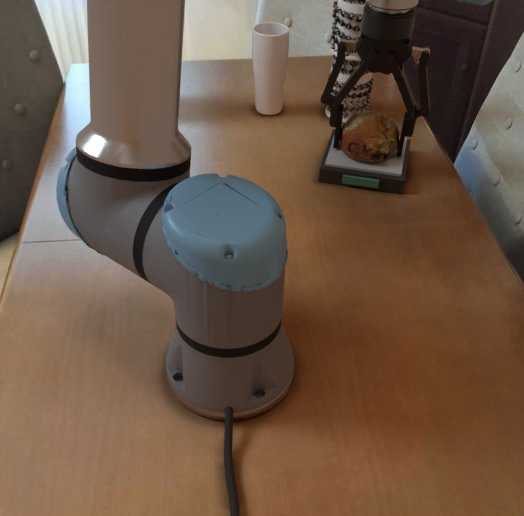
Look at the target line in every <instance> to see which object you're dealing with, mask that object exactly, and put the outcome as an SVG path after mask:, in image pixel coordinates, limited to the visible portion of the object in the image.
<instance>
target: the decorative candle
mask: <svg viewBox="0 0 524 516" xmlns="http://www.w3.org/2000/svg"><path fill="white" fill-rule="evenodd" d="M366 4H367V2H366V0H336V1H333V4H332V6H333V10H332V15H331V17H332V18H333V20H334V21H333V22H332V26H331V30H332V31H331V35H330V38H331V39H332V43H331V47H330V51H331V53H332V62H331V66H330V73H329V74H328V77H327V80H328V79H329V77H330V74H331V72H332V69H333V67H334V64H335V62H336V59H337V48H338V44H339V41H340V39H341V38H342V37H346V38H347V40H357V39H358V38H359V37H360V33H361V26H362V18H363V11H364V6H365V5H366ZM360 61H361V59H360V57H359V55H358V53H357V51H356V49H354V50H352V52H351V54H350V55H349V56H346V58H345V60H344V63H343V66H342V68H341V70H340V73H339V75H338V78H337V80H336V83H335V85H334V87H333V90H332V92H331V94H332V95H334V96H335V95H336V94H337V92H338V91H339V90H340V88H341V87H342V86H343V84H344V83H345V82H346V80H347V79H348V78H349V76H350V75H351V74H352V72H353V71H354V70H355V68H356V67H357V65H358V64H359V62H360ZM373 84H374V78H373V73H370V71H368V70H367V71H366V72H365V74H364V75H363V76H362V77H361V78H360V79H359V81H358V82H357V83H356V85H355V86H354V87H353V89H352V90H351V91H350V92H349V94H348V95H347V96H346V98H345V99H344V100H343V102H342V103H341V104H344V111H343V119H342V124H343V123H344V124H345V123H346V122H347V120H348V119H349V118H350V117H352V116H353V115H355V114H356V113H357V112H362V111H370V108H369V107H370V106H371V105H370V103H371V99H372V97H371V95H370V94H372V91H373V87H372V86H373ZM324 105H325V110H324V113H325V115H326V117H327V118H329V119H330V112H331V108H330V106H329V105H327V104H324Z"/></svg>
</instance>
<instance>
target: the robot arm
mask: <svg viewBox="0 0 524 516" xmlns="http://www.w3.org/2000/svg"><path fill="white" fill-rule="evenodd" d="M455 1H456V2H457V3H468V4H473V5H478V6H484V5H487V4H489V3H491V2H492V1H493V0H455ZM366 2H367V4H366V5H365V6H364V11H363V18H362V26H361V33H360V37H359V38H358V39H357V40H347V38H346V37H342V38H341V39H340V41H339V44H338V48H337V59H336V62H335V64H334V67H333V69H332V72H331V71H330V72H331V74H330V73H329V74H330V77H329V76H328V77H329V79H328V78H327V82H326V84H325V87H324V89H323V91H322V95H321V97H320V100H319V101H320V103H321V104H322V105H325V104H327V105H329V106H330V108H331V112H330V118H329V122H328V125H329V127H330V128H334V129H335V135H334V144H333V148H338V145H339V142H340V133H341V128H342V126H343V123H342V119H343V111H344V104H341V103H342V102H343V100H344V99H345V98H346V96H347V95H348V94H349V92H350V91H351V90H352V89H353V87H354V86H355V85H356V83H357V82H358V81H359V79H360V78H361V77H362V76H363V75H364V74H365V72H366V71H367V70H368V71H370V73H372V74H378V73H381V74H383V75H387V76H390V75H391V74H392V77H393V79H394V81H395V82H396V85H397V88H398V90H399V93H400V96H401V98H402V101H403V104H404V107H405V109H406V111H405V112H404V116H403V121H402V125H401V131H400V134H399V136H400V140H399V145H398V150H397V156H396V157H401V154H402V149H403V144H404V140H405V137H407V138H412V136H413V135H414V131H415V127H416V121H417V119H418V118H421V117H423V118H427V117H428V116H429V115H430V110H431V101H430V100H431V99H430V84H429V72H428V71H429V70H428V63H429V59H430V54H431V47H430V46H429V45H424V46H423V47H419V46H413V45H414V44H413V42H412V36H413V31H414V28H415V22H416V15H417V8H416V6H418V4H419V0H366ZM185 9H186V0H86V14H87V15H86V19H87V20H86V21H87V48H88V49H87V50H88V51H87V54H88V80H89V83H88V84H89V85H88V86H89V112H90V115H89V116H90V121H89V123H88V124H87V125H86V126H84V127H83V128H82V129H81V130H80V131H78V133H77V134H76V135H75V136H76V137H75V146H74V147H73V149H71V150H70V152H69V153H68V154H67V156H66V158H65V161H66V164H65V166H62V167H61V168H59V171H58V174H57V179H56V186H55V187H56V189H55V194H56V203H57V207H58V211H59V213H60V216H61V218H62V220H63V223H64V224H65V226H66V227H67V228H68V229H69V231H70V232H71V233H72V234H73V235H75V236H76V237H77V238H78V239H80V240H81V242H83V243H84V244H85V245H86V246H87V247H88V248H89V249H91V250H93V251H96V253H98V254H99V255H102V256H104V257H106V258H108V259H110V260H112V261H113V262H115V263H116V264H118V265H119V266H122V267H123V268H124V269H126V270H128V271H130V272H131V273H133V274H134V275H136V276H137V277H139V278H141V279H142V280H144V281H146V282H147V283H149V284H151V285H152V286H153V287H155V288H157V289H158V290H160V291H161V292H163V293H165V294H166V295H168V296H169V298H171V301H172V304H173V311H174V318H175V319H174V320H175V327H174V330H173V332H172V335H171V339H170V342H169V346H168V348H167V351H166V356H165V375H166V381H167V384H168V387H169V389H170V391H171V394H172V395H173V396H174V398H175V399H176V400H177V401H178V402H179V403H180V404H181V405H182V406H183V407H185V408H186V409H188V410H189V411H191V412H192V413H195V414H197V415H199V416H202V417H204V418H208V419H212V420H219V421H224V432H223V433H224V437H223V458H224V459H223V462H224V463H223V464H224V475H225V481H226V488H227V494H228V499H229V500H228V501H229V508H230V509H229V511H230V512H229V513H230V516H240V513H241V512H240V503H239V496H238V490H237V485H236V484H237V483H236V479H235V477H236V476H235V470H234V462H233V461H234V460H233V438H234V437H233V435H234V434H233V433H234V432H233V430H234V421H240V420H247V419H250V418H251V419H252V418H253V417H257V416H259V415H262V414H264V413H266V412H268V411H269V410H271V409H272V408H275V406H277V405H278V404H279V403H280V402H281V401H282V400H283V399H284V398H285V397H286V395H287V394H288V392H289V391H290V389H291V387H292V383H293V382H294V381H293V380H294V376H295V375H294V374H295V357H294V350H293V347H292V345H291V342H290V340H289V337H288V334H287V331H286V329H285V327H284V324H283V322H282V321H283V307H284V291H285V280H286V279H285V277H286V266H287V263H288V257H289V256H288V255H289V249H288V240H287V224H286V219H285V215H284V212H283V210H282V208H281V206H280V204H279V203H278V201H277V200H276V199H275V197H273V195H271V193H270V192H268V191H267V190H266V189H264V187H262V186H261V185H259V184H257V183H255V182H253V181H251V180H249V179H247V178H245V177H241V176H238V175H233V174H227V175H226V176H224V177H222V176H221V175H220V174H219V173H211V172H210V173H202V174H197V175H194V176H191V162H192V146H191V145H192V144H191V143H190V141H189V140H188V139H187V138H186V137H185V136H184V135H183V134H182V132H181V131H180V130H179V119H180V118H179V117H180V100H181V81H182V67H183V65H182V63H183V49H184V48H183V47H184V29H185V13H186V12H185V11H186V10H185ZM354 49H356V51H357V53H358V55H359V57H360V59H361V61H360V62H359V64H358V65H357V67H356V68H355V70H354V71H353V72H352V74H351V75H350V76H349V78H348V79H347V80H346V82H345V83H344V84H343V86H342V87H341V88H340V90H339V91H338V92H337V94H336V95H335V96H334V95H332V94H331V92H332V90H333V87H334V85H335V83H336V80H337V78H338V75H339V73H340V70H341V68H342V66H343V63H344V60H345V58H346V56H349V55H350V54H351V52H352V50H354ZM411 57H413V62H414V64H415V65H418V66H417V76H418V78H417V79H418V87H419V88H418V89H419V90H418V91H419V101H420V102H419V103H420V105H417V102H416V99H415V97H414V94H413V90H412V88H411V85H410V83H409V80H408V77H407V74H406V71H405V66H404V64H405V62H406V61H407V60H408V59H409V58H411Z"/></svg>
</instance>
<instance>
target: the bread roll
mask: <svg viewBox="0 0 524 516" xmlns="http://www.w3.org/2000/svg"><path fill="white" fill-rule="evenodd" d="M399 136H400V129H399V127H398V125H397V122H396V121H395V120H394V119H393V118H392V117H391V116H389V115H387V114H385V113H383V112H381V111H378V110H368V111H362V112H357V113H356V114H355V115H353V116H352V117H350V118H349V119H348V120H347V122H346V123H344V124H342V127H341V133H340V145H341V148H342V151H343V152H344V154H345V155H346V156H348V157H349V158H351V159H353V160H355V161H359V162H368V163H375V162H382V161H384V160H386V159H388V158H389V157H391V156H392V155H393V154H394V153H395V151H396V150H397V149H398V145H399Z"/></svg>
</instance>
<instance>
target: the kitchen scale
mask: <svg viewBox="0 0 524 516" xmlns="http://www.w3.org/2000/svg"><path fill="white" fill-rule="evenodd" d="M334 135H335V128H333V129H332V131H331V134H330V137H329V139H328V143H327V145H326V149H325V151H324V154H323V157H322V160H321V163H320V167H319V173H318V182H320V183H326V184H333V185H338V186H346V187H353V188H359V189H360V188H361V189H366V190H373V191H380V192H387V193H394V194H399V195H402V194H403V191H404V186H405V183H406V175H407V168H408V161H409V155H410V149H411V141H412V140H411V138H409V139H408V137H406V136H405V140H404V144H403V149H402V154H401V157H396V156H397V150H398V149H397V150H396V151H395V153H394V154H393V155H392V156H391V157H389V158H388V159H386V160H384V161H382V162H375V163H368V162H359V161H355V160H353V159H351V158H349V157H348V156H346V155H345V154H344V152H343V151H342V148H341V145H340V142H339V145H338V148H333V144H334ZM399 140H400V135H399Z"/></svg>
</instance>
